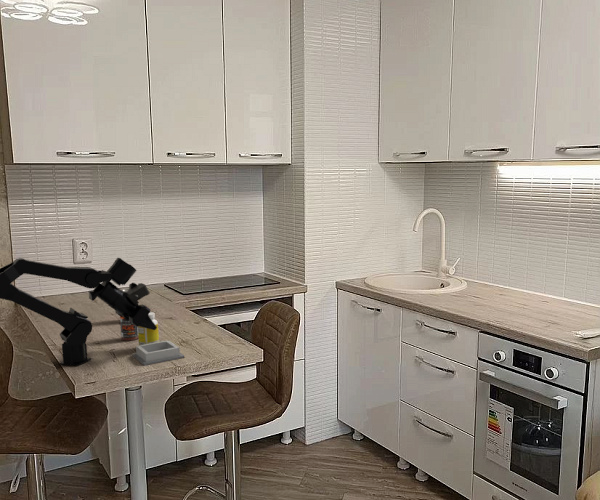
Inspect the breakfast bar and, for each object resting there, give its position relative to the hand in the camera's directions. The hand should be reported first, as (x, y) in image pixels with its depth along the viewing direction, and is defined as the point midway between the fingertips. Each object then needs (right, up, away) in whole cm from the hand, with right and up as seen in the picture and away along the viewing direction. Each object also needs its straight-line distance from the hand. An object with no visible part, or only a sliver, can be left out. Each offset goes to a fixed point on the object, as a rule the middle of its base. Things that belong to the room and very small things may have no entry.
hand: (152, 326), depth 182 cm
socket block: (+4, -8, -9) cm, 13 cm away
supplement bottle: (-10, -6, +12) cm, 17 cm away
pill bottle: (-1, -7, 0) cm, 7 cm away
